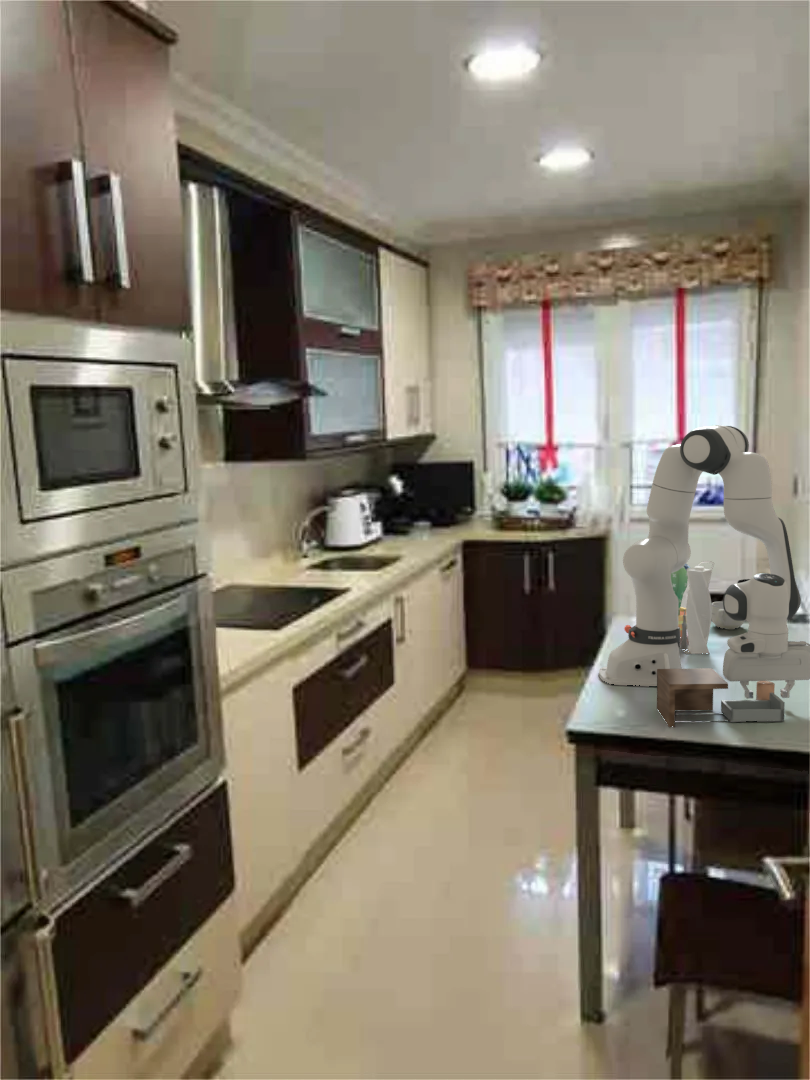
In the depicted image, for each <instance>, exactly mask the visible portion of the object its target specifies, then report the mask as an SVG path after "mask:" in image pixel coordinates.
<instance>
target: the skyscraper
mask: <svg viewBox="0 0 810 1080" xmlns="http://www.w3.org/2000/svg"><path fill="white" fill-rule="evenodd" d="M704 563H707V564H708V563H709V564H712V565H711V567H710V568H705V566H704V565H702V564H704ZM714 566H715V562H713V560H703V561H701V562H699V563H698V564H697V565H695V566H694V567H690V568H688V569H687V576H688V581H687V583H688V592H687V597H686V605H685V608H686V615H685V609H684V615H683V623H682V637H681V638H680V640H681V642H680V650H681V649H685V650H686V649H688V650H687V651H685V650H683V651H685V652H683V651H682V652H683V653H684V654H685V655H710V651H709V648H708V641H709V636H710V630H711V625H712V619H711V616H712V605H711V604H712V599H711V593H710V590H709V586H710V582H711V577H712V574H713V573H712V572H713V568H714ZM686 627H687V629H686ZM687 641H688V642H687ZM688 651H689V652H688ZM702 653H703V654H702ZM706 653H708V654H706Z"/></svg>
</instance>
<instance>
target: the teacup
mask: <svg viewBox="0 0 810 1080" xmlns="http://www.w3.org/2000/svg"><path fill="white" fill-rule="evenodd" d="M711 607H712V616H711V623H712V624H714V625H715V626H716V627H717V628H719V627H720V628H719V629H723V628H725V629H724V630H736V629H735V628H737V629H738V628H739V627H741V626H743V624H744V622H745V621H736V620H733V619H732V618H730V617H729V616H728V615H727V613H726V612H725V610H724V607H723V600H721V601H714V602H711Z"/></svg>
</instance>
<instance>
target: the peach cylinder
mask: <svg viewBox="0 0 810 1080" xmlns="http://www.w3.org/2000/svg"><path fill="white" fill-rule="evenodd" d="M775 686H776V683H775V682H774V681H756V687H755V688H756V695H755V700H769V696H770V693H774V694H775Z"/></svg>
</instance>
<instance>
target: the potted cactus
mask: <svg viewBox="0 0 810 1080" xmlns="http://www.w3.org/2000/svg"><path fill="white" fill-rule="evenodd" d="M688 568H691V566H690V565H689V564H687V563H686V564H685V565H684V566H683V567H682V568H681V569H680V570H678V571H676V572H673V573H671V582H672V587H673V590H674V593H675V595H676V596H677V597H678V601H679V614H678V627H680V637H682V623H683V615H684V609H685V615H686V607H683V606H681V605H682V603H683V602H682V601H683V597H684V594H685V591H686V589H687V588H688V576H687V569H688ZM686 629H687V627H686Z"/></svg>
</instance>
